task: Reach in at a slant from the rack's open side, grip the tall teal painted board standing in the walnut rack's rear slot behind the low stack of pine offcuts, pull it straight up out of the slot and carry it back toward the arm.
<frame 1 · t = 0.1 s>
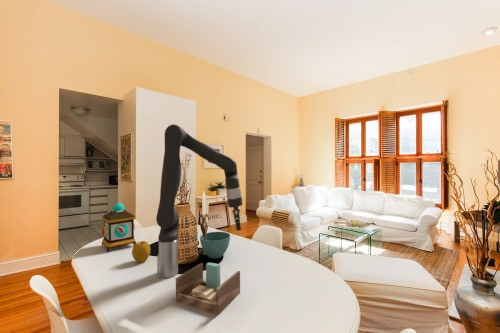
hand: (238, 228, 121), 22 cm above the table, tool pointing down, fingers open, 8 cm apart
offcut stack: (203, 301, 91), point 1 cm above the table, touching walnut rack
decorative lantern: (118, 246, 162), on the table
walnut rack: (209, 300, 95), on the table
apple: (141, 262, 135), on the table
plant pot: (215, 256, 142), on the table
teal board: (213, 293, 97), point 1 cm above the table, touching walnut rack
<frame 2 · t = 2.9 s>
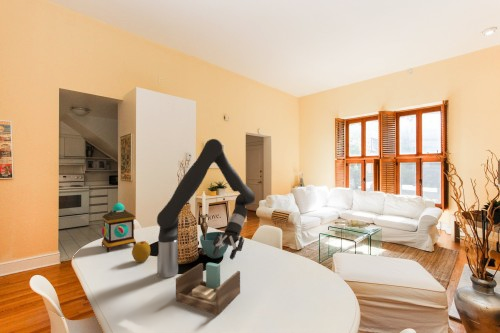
hand: (222, 257, 104), 14 cm above the table, tool tilted 45°, fingers open, 8 cm apart
nothing on the table moved.
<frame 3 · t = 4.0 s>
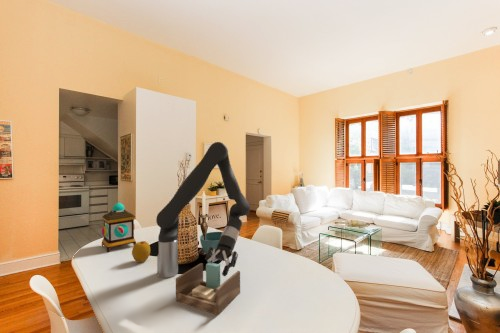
hand: (215, 273, 98), 9 cm above the table, tool tilted 45°, fingers open, 8 cm apart
nothing on the table moved.
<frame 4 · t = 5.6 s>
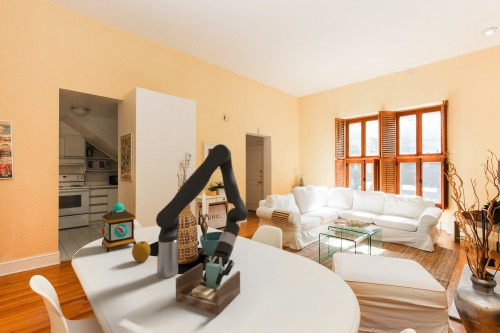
hand: (210, 282, 96), 7 cm above the table, tool tilted 45°, fingers closed on teal board, 5 cm apart
teal board: (213, 293, 97), point 2 cm above the table, touching gripper, walnut rack
everything else where it was.
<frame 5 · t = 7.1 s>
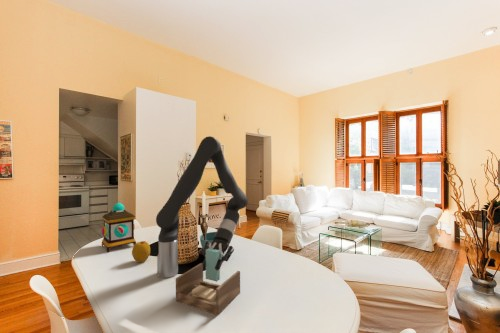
hand: (210, 268, 96), 13 cm above the table, tool tilted 45°, fingers closed on teal board, 5 cm apart
teal board: (212, 278, 97), point 7 cm above the table, touching gripper
everything else where it was.
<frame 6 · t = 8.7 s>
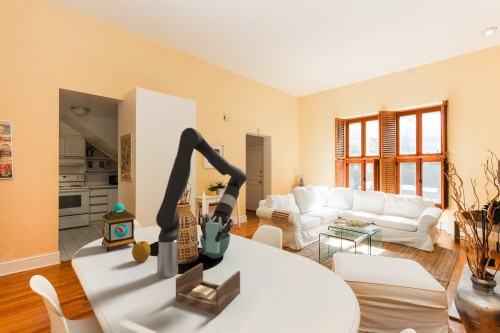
hand: (210, 240, 96), 24 cm above the table, tool tilted 45°, fingers closed on teal board, 5 cm apart
teal board: (212, 251, 97), point 19 cm above the table, touching gripper
everything else where it was.
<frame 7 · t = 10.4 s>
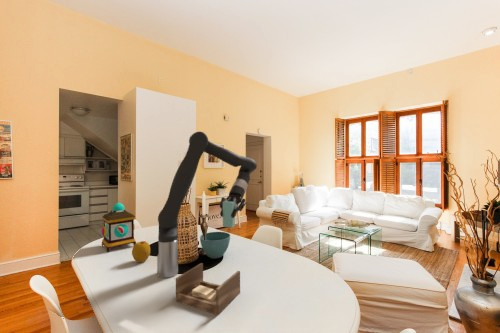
hand: (226, 216, 113), 30 cm above the table, tool tilted 45°, fingers closed on teal board, 5 cm apart
teal board: (228, 226, 115), point 25 cm above the table, touching gripper
everything else where it was.
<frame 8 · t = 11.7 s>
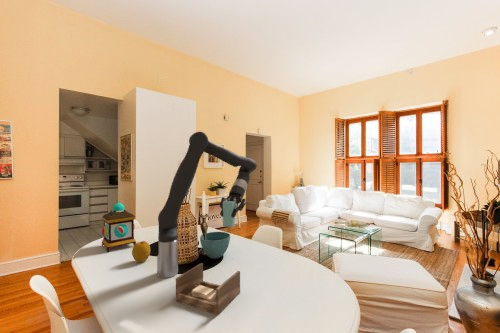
hand: (227, 216, 113), 30 cm above the table, tool tilted 45°, fingers closed on teal board, 5 cm apart
teal board: (228, 226, 115), point 25 cm above the table, touching gripper
everything else where it was.
at the end: the gripper is holding teal board; teal board point 24.9 cm above the table; teal board touching gripper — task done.
